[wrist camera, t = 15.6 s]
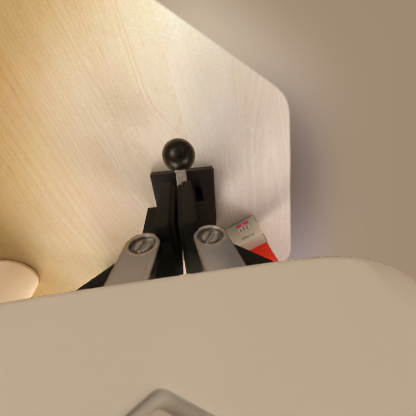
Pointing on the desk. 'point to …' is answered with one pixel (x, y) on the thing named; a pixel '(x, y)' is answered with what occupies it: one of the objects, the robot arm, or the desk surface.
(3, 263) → the mug
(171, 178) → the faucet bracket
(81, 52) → the desk surface
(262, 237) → the ink box
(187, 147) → the lever
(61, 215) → the desk surface
